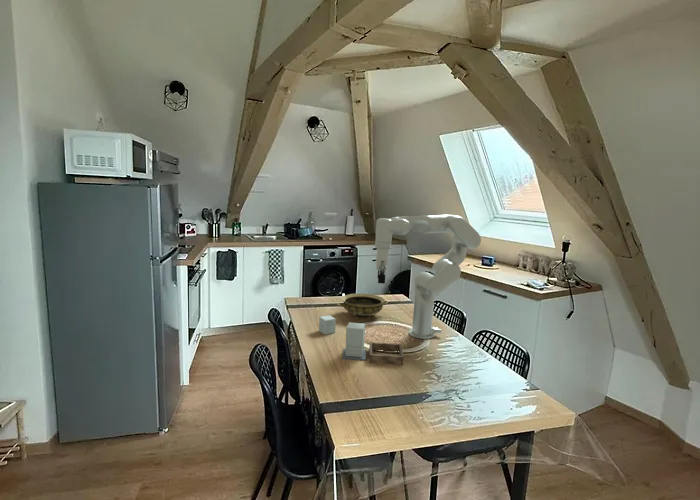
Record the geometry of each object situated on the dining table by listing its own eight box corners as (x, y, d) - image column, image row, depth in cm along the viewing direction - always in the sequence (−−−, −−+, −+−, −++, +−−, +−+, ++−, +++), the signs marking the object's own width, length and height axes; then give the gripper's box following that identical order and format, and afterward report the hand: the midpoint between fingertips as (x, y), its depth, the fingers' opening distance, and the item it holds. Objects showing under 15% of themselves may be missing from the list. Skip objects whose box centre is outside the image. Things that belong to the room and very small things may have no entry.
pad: (366, 351, 186) (366, 349, 186) (365, 360, 176) (365, 359, 176) (343, 349, 186) (343, 348, 186) (342, 359, 176) (342, 357, 176)
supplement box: (364, 351, 184) (365, 323, 182) (361, 357, 177) (363, 329, 175) (347, 349, 185) (349, 321, 183) (344, 355, 178) (346, 327, 176)
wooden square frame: (400, 351, 187) (401, 344, 186) (403, 365, 173) (403, 357, 173) (369, 349, 188) (369, 342, 187) (369, 362, 174) (369, 354, 173)
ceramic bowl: (380, 308, 250) (381, 292, 248) (395, 321, 227) (396, 303, 225) (331, 310, 241) (331, 293, 239) (342, 324, 218) (342, 306, 217)
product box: (329, 329, 211) (329, 315, 210) (335, 332, 206) (336, 318, 205) (318, 330, 208) (319, 316, 207) (324, 334, 203) (325, 320, 202)
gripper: (374, 241, 203) (373, 276, 206) (375, 247, 186) (373, 284, 189) (390, 242, 203) (388, 277, 206) (392, 248, 186) (389, 285, 189)
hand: (381, 280), depth 198 cm, fingers open, 9 cm apart
